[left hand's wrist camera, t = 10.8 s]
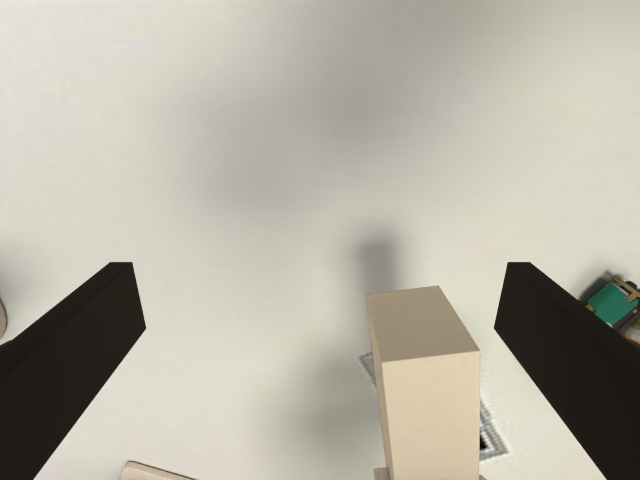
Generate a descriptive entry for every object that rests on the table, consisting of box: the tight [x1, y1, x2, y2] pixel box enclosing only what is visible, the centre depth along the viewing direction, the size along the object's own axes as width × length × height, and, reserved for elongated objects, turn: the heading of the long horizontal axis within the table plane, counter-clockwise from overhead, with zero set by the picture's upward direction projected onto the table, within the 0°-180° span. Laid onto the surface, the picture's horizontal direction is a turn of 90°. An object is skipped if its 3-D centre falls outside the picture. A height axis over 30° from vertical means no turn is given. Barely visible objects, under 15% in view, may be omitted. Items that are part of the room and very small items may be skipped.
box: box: [366, 286, 480, 480], centre depth 30 cm, size 20×6×8 cm, turn 9°
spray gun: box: [586, 276, 640, 344], centre depth 46 cm, size 4×17×15 cm
